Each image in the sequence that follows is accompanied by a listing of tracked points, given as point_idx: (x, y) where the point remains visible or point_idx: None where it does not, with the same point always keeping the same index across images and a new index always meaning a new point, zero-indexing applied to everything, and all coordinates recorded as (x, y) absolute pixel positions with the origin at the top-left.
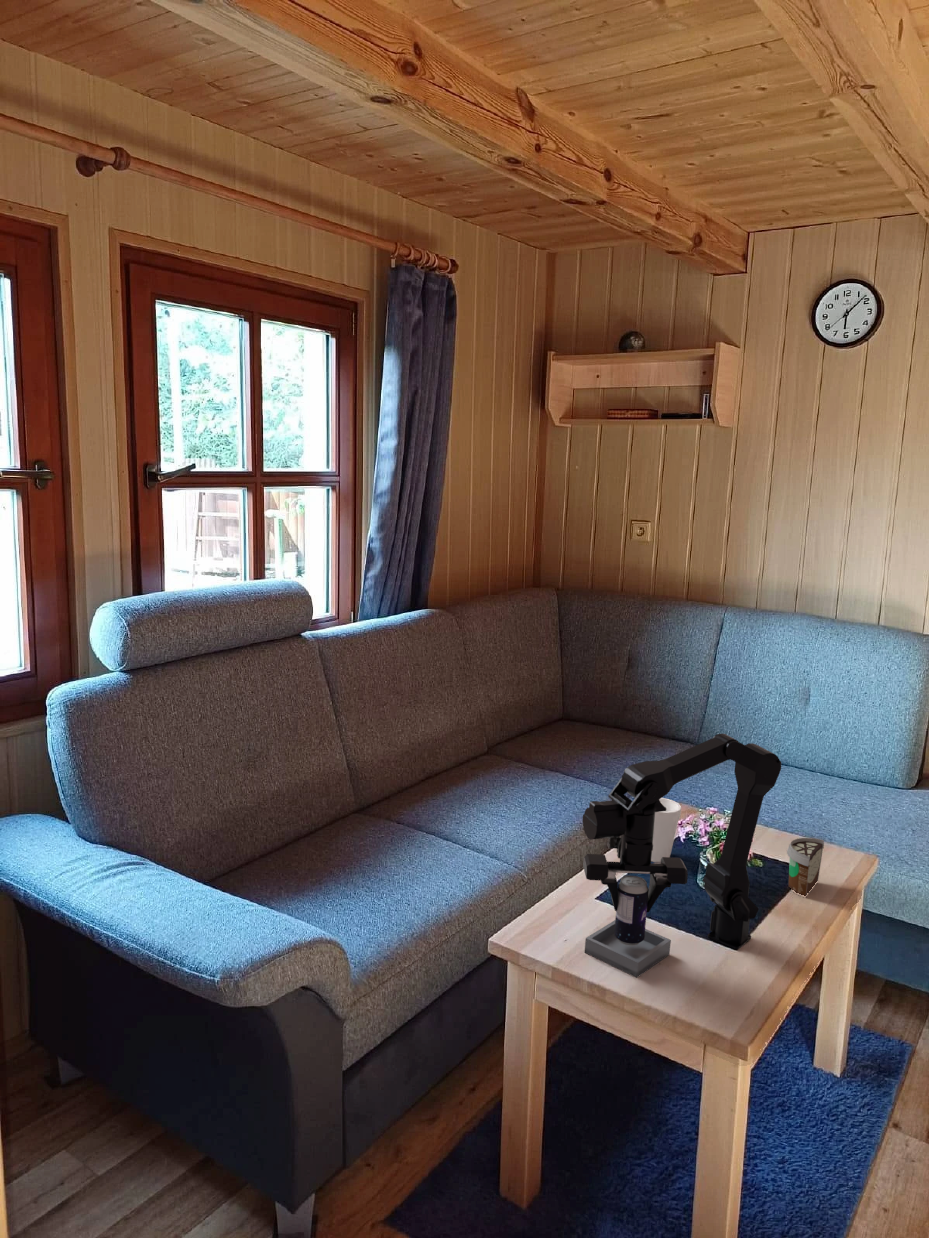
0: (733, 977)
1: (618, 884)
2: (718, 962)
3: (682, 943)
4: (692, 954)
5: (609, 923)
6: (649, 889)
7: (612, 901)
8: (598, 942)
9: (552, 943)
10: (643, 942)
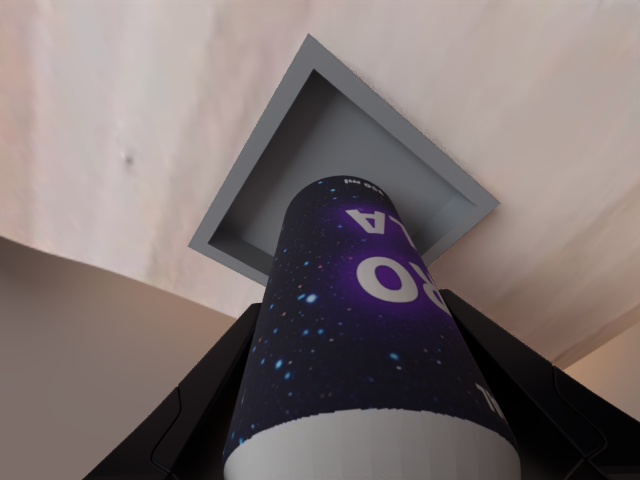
0: (607, 261)
1: (223, 461)
2: (615, 199)
3: (556, 94)
4: (553, 167)
5: (261, 118)
6: (525, 430)
7: (229, 332)
8: (234, 263)
9: (97, 189)
10: (397, 160)
